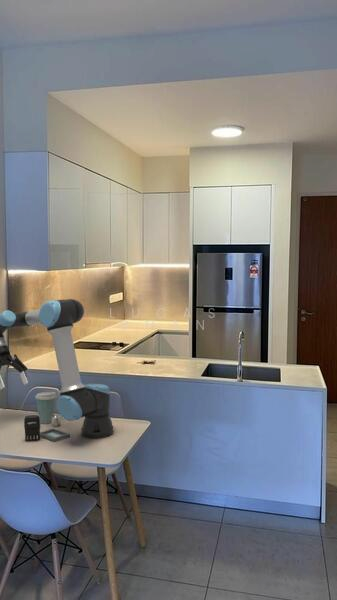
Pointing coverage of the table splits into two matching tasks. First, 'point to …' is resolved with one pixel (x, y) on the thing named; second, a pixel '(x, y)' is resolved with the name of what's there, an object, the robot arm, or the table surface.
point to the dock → (54, 435)
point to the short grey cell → (55, 420)
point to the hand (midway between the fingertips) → (14, 386)
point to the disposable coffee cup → (46, 406)
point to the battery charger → (32, 427)
